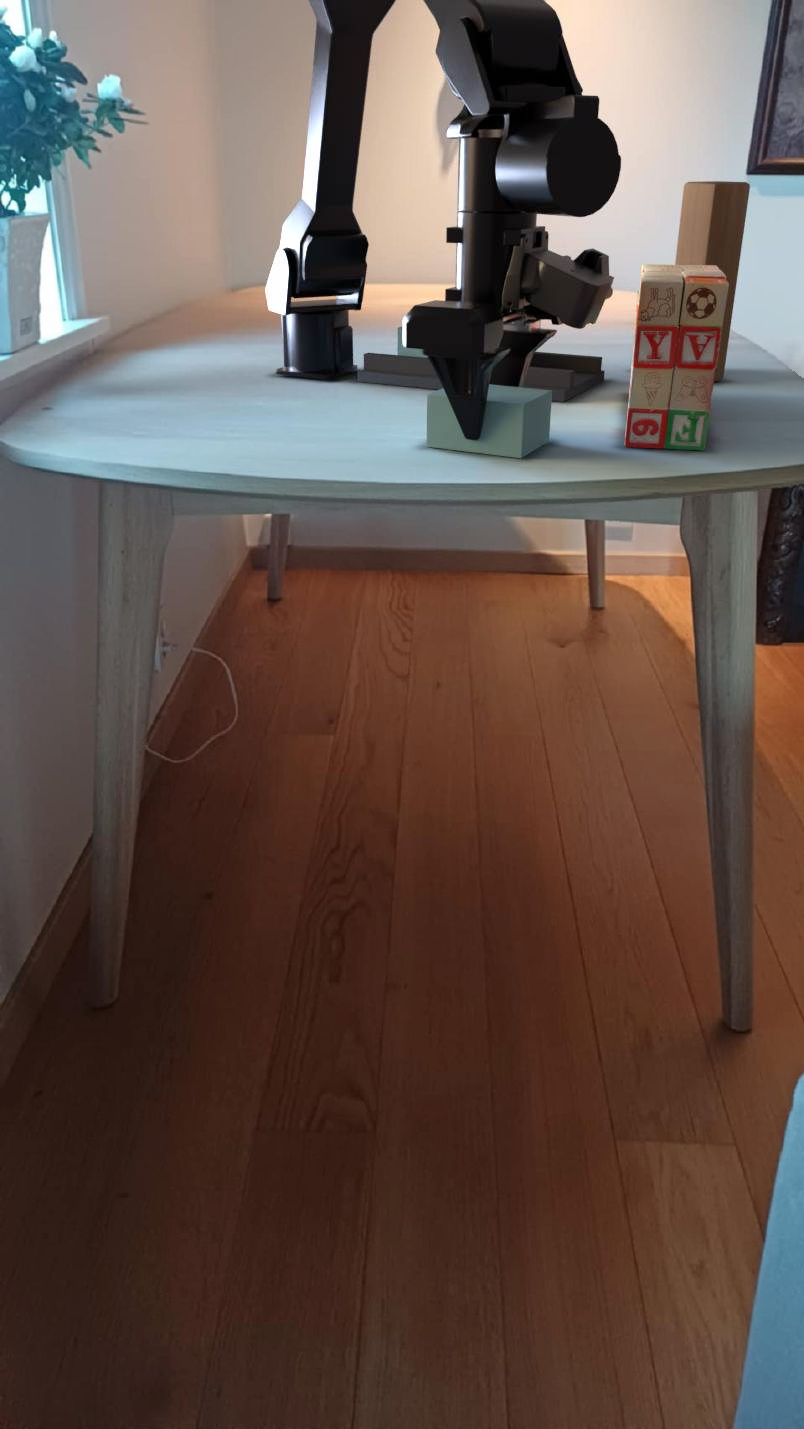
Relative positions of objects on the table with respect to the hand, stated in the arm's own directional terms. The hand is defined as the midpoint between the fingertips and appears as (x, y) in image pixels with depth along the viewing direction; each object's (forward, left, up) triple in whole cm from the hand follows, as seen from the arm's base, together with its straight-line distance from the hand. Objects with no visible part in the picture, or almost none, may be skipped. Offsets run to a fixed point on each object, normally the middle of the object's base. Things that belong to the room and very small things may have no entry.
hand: (488, 431), depth 82 cm
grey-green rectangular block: (0, 0, -1) cm, 1 cm away
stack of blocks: (+10, +15, -1) cm, 18 cm away
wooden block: (+6, +36, -1) cm, 37 cm away
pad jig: (-11, +24, -1) cm, 26 cm away
